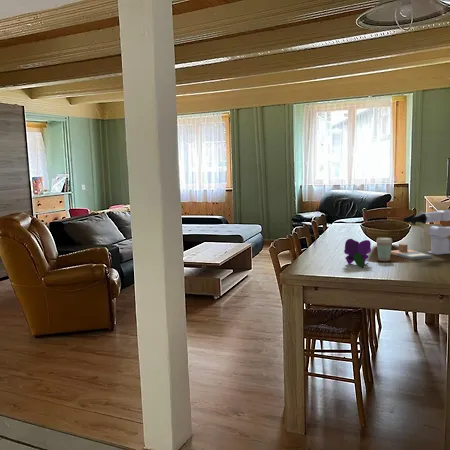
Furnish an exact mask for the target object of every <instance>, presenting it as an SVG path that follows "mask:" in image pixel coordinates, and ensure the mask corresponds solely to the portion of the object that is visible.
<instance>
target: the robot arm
mask: <svg viewBox="0 0 450 450" xmlns="http://www.w3.org/2000/svg"><path fill="white" fill-rule="evenodd" d="M440 221H443V222H444V221H445V222H448V221H450V210H449V209H445V210H440V209H438V210H437V211H428V212H423V210H421V211H419V213H418V214H416V215H415V214H414V213H411V214H409V216H406V217H403V222H404V223H410V224H416V223H420V224H423V225H424V224H428V223H434V222H440ZM427 232H428V234H429V236H430V251H429V250H428V251H427V253H428V254H431V255H438V256H439V255H445V254H447V255H448V254H450V240H449V239H448V238H447V237H450V226H436V225H431V226H430V227H429V228H428V231H427Z"/></svg>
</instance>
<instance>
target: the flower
mask: <svg viewBox="0 0 450 450" xmlns="http://www.w3.org/2000/svg"><path fill="white" fill-rule="evenodd" d="M371 243H372V242H371V241H370V240H369V239H365V240H362V241H357V240H354V239H353V238H348V239H347V240H346V241H345V244H344V250H343V253H344V254H345V255H346V257H344V259H345V261H346V263H347V265H351V264H352V263H353V262H354V263H355V264H356V266H358V267H359V268H361V269H364V268H365V267H366V266H367V265H368V264H369V262H367V263H366V260H367V259H369V254H370V253H371V251H372V249H371V248H372V247H371V245H372V244H371Z"/></svg>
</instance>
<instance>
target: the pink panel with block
mask: <svg viewBox="0 0 450 450" xmlns="http://www.w3.org/2000/svg"><path fill="white" fill-rule="evenodd" d="M408 246H409V245H408V244H406V243H399V244H398V249H396V250H391V254H390V255H393V256H398V253H409V252H418V251H416V250H413V249H409V248H408ZM398 257H399V256H398Z"/></svg>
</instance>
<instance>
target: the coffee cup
mask: <svg viewBox="0 0 450 450" xmlns="http://www.w3.org/2000/svg"><path fill="white" fill-rule="evenodd" d="M375 242H376V249H377V258H378V260H379V261H381V262H388V261H390V260H391V255H392V254H391V251H392V245H393V239H392V237H385V236H384V237H377V238H376V241H375Z"/></svg>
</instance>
